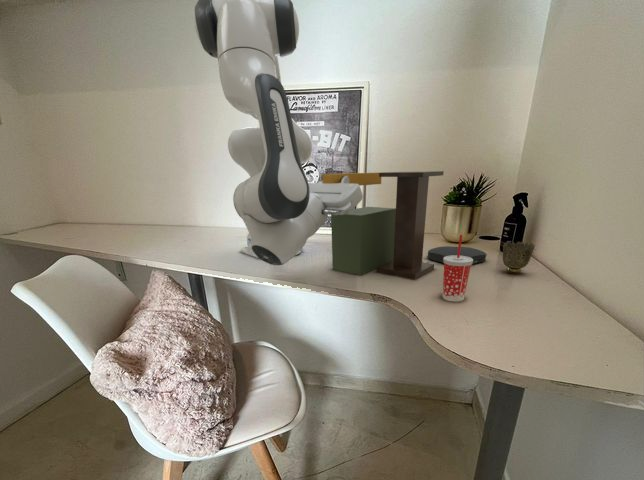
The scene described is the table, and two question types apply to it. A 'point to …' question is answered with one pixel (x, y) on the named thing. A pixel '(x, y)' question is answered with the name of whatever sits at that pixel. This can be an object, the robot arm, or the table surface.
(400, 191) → the shelf stand
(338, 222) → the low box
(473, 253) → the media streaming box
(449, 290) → the beverage cup
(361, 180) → the wooden bar
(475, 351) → the table surface
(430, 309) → the table surface
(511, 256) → the cup
